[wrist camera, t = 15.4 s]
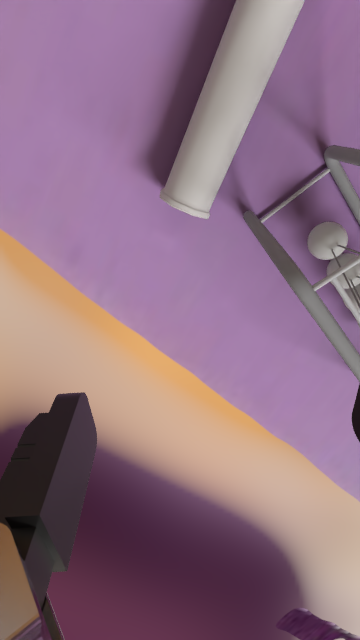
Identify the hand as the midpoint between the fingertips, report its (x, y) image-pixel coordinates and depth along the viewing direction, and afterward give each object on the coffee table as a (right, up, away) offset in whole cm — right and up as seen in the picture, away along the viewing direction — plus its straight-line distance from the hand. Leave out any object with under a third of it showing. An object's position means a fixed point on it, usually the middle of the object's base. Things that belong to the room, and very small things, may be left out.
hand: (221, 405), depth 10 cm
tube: (+6, +24, +20) cm, 32 cm away
